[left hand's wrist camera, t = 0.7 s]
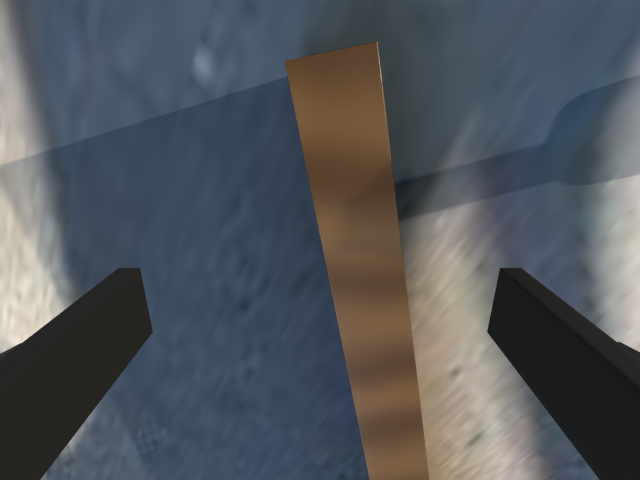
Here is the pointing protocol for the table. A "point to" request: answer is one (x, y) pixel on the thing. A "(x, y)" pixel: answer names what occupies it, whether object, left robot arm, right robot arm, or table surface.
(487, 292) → the table surface
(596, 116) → the table surface
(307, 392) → the table surface
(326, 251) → the post
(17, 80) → the table surface
